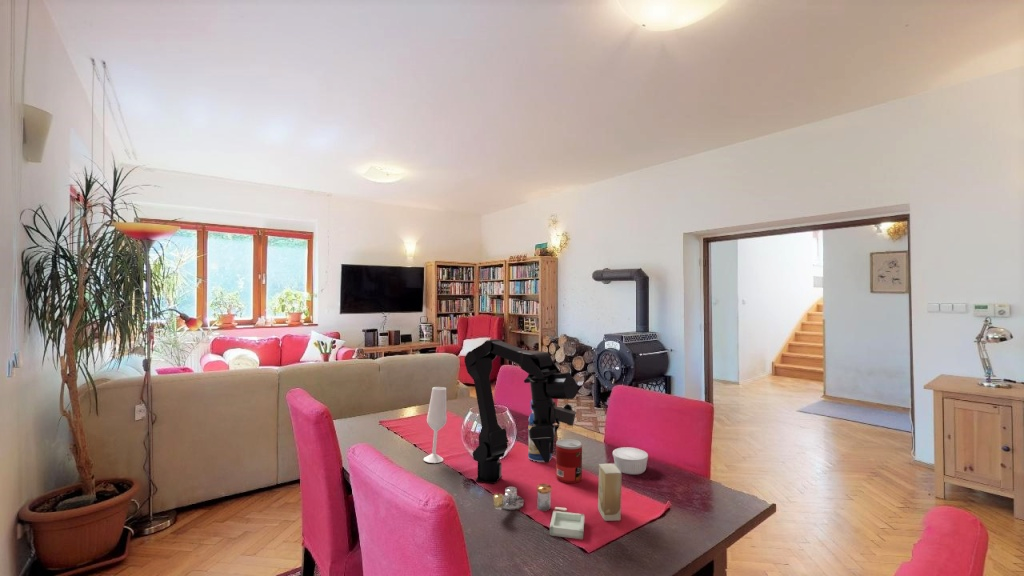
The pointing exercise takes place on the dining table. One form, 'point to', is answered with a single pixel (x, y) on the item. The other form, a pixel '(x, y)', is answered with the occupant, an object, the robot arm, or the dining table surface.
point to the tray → (567, 525)
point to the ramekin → (630, 460)
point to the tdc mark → (560, 508)
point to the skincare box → (609, 492)
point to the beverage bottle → (533, 450)
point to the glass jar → (543, 497)
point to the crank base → (515, 504)
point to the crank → (505, 498)
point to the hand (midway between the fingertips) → (549, 457)
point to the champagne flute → (436, 418)
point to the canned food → (569, 460)
